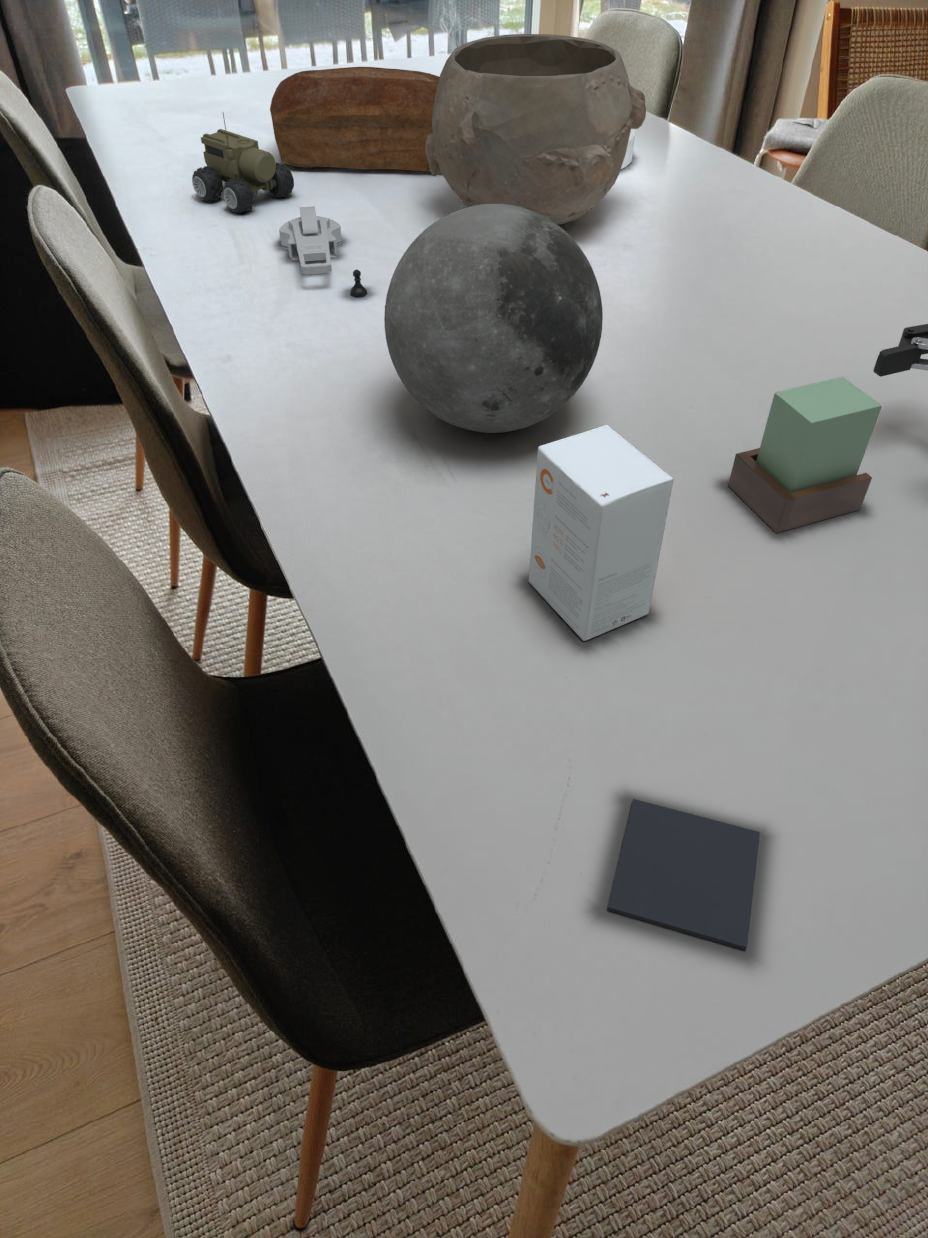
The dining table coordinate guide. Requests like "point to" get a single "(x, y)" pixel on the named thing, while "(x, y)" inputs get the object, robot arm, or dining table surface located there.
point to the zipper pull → (311, 240)
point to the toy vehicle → (239, 171)
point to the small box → (597, 529)
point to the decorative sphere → (493, 318)
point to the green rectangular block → (817, 433)
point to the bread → (354, 118)
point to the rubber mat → (686, 873)
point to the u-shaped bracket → (793, 495)
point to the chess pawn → (357, 286)
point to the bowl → (533, 122)
